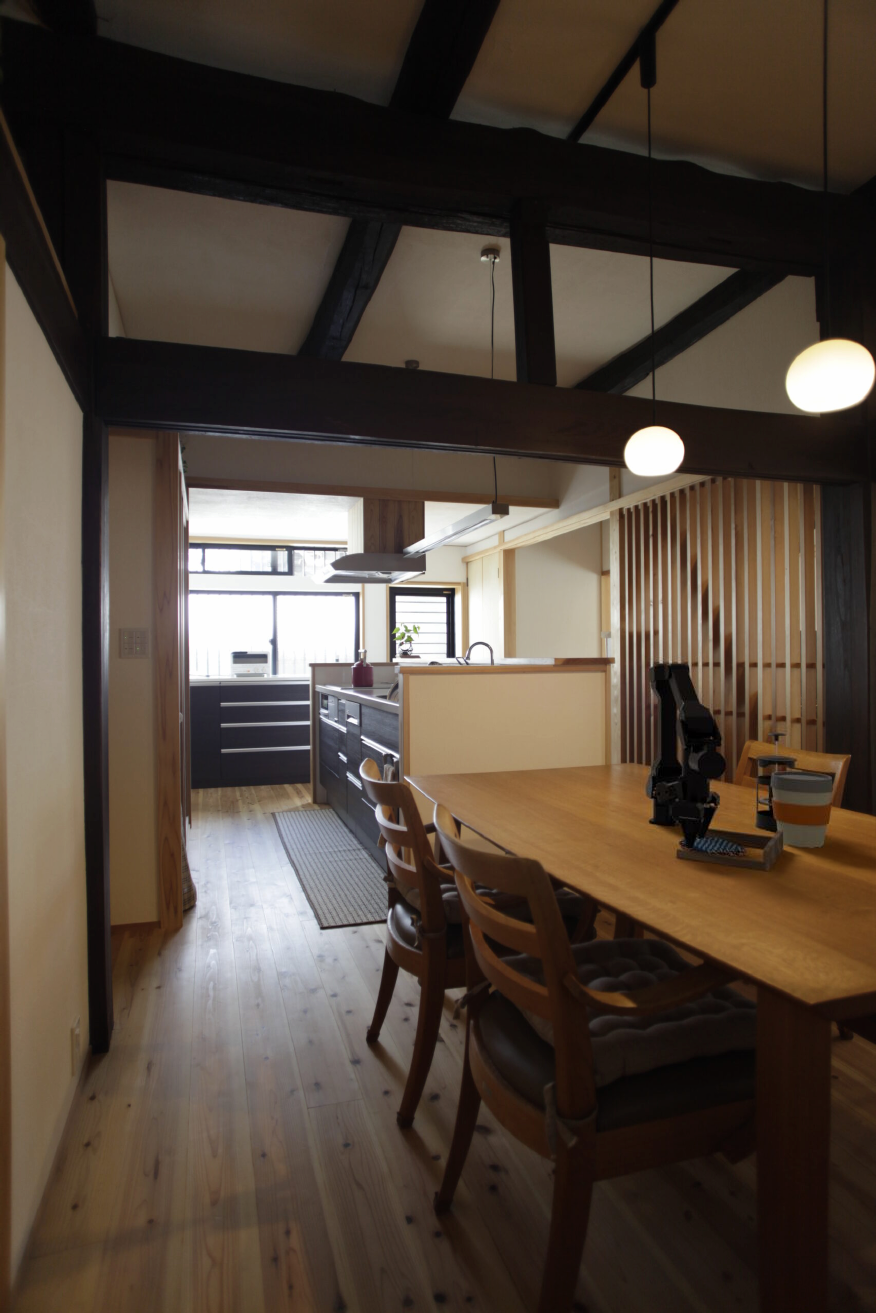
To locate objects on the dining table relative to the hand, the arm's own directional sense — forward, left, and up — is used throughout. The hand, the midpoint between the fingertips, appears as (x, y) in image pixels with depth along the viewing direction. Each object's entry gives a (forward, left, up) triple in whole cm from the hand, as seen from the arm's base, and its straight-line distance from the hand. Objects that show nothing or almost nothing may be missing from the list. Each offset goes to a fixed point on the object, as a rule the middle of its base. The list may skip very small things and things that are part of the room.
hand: (695, 843), depth 157 cm
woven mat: (0, +4, -2) cm, 4 cm away
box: (0, +7, -1) cm, 7 cm away
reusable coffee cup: (-18, +19, -1) cm, 26 cm away
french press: (-31, +12, -1) cm, 33 cm away
